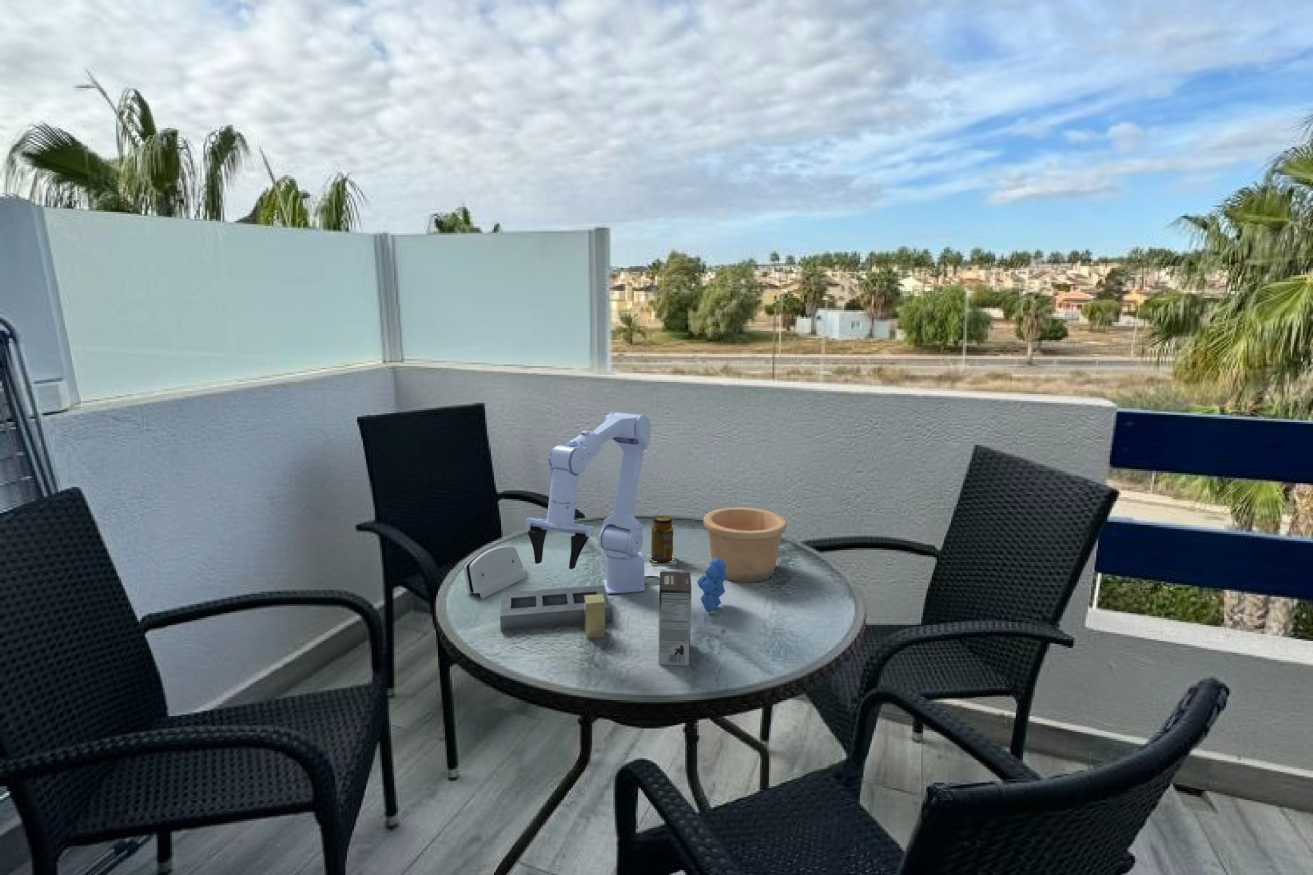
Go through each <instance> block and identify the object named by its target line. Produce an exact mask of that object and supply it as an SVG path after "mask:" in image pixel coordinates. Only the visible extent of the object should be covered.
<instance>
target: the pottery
mask: <svg viewBox="0 0 1313 875" xmlns="http://www.w3.org/2000/svg"><path fill="white" fill-rule="evenodd" d="M702 522H703V526H704V528H705V529H706V530H707V532H708V541H709V550H710V557H711V558H710V559H711V561H712V560H714V559H715V558H719V559H721V560H723V561H724V562H725V564H726V567H727V568H726V569H725V570H724V571H725V573H726V575H727V579H728V581H731V580H733V581H732V582H736V581H738V582H737V583H756V582H755V581H759V580H763V581H765V580H764V579H766V580H768V579H770V578H771V577H773V576H774V574H775V572H774V570H776V565H777V561H778V560H777V559H778V554H779V550H780V549H779V548H780V543H781V538H782V534H785V532H786V529H788V528H787V526H788V522H787V521H786V519H785V517H783V516H782V515H779V514H778V513H776V512H772V511H769V510H766V509H762V508H761V509H760V508H755V507H744V506H743V507H738V506H737V507H736V506H735V507H724V508H719V509H718V508H717V509H714V510H712V511H710V512H707V513H706V514H705V515H704V517H703V521H702ZM773 573H774V574H773ZM772 575H773V576H772ZM770 576H771V577H770ZM769 577H770V578H769ZM767 578H768V579H767ZM727 579H726V580H727ZM759 582H760V581H759Z"/></svg>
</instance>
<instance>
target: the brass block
mask: <svg viewBox="0 0 1313 875" xmlns="http://www.w3.org/2000/svg"><path fill="white" fill-rule="evenodd" d="M584 615H585V624H584V633H585V638H586V639H594V638H595V639H598V638H605V637H606V622H605V601H604V597H603V594H597V595H584Z"/></svg>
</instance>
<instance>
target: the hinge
mask: <svg viewBox="0 0 1313 875" xmlns="http://www.w3.org/2000/svg"><path fill="white" fill-rule="evenodd" d="M463 573H464V579H465V583H466V591H467V594H468V595H471V594H479V595H480V598H481V599H485V598H486V597H488V596H491V595H492V594H495V593H497V592H498V591H501V590H503V589H505V588H507V587H509V586H511V585H513V584H515V583H517V582H519V581H522V580H524V579H526V578H528V577H529V572H528V570H527V568H525V567H524V565H523V563H522V560H521V558H520V555H519V553H518V550H517V549H516V548H515V547H514V546H497V547H494V548H489V549H486V550H485V551H482V552H481V553H479V554H477V555H475V556H473V557H472V558H471V559H470V560H469V561H468V562H467V563H466V564H465V565H464V567H463Z"/></svg>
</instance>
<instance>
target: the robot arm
mask: <svg viewBox="0 0 1313 875" xmlns="http://www.w3.org/2000/svg"><path fill="white" fill-rule="evenodd" d="M651 430H652V424H651V421H650V420H649V417H648V415H647V414H636V413H627V412H625V413H624V412H617V411H612V412H609V414H607V415H606V416H605V419H604V422H602V424H600V425H599V426H598V427H597V428H595V429H594V430H593V431H591V430H582V431H581V432H580V434H579V435H578V436H576V437H574V438H573V439H570V440H569V441H568V442H567V443H566V444H565V445H561V444H558V445H556V446H555V447H554V448H552V449H551V450H550V452H549V456H547V465H548V468H549V475H548V476H549V479H550V480H551V481H550V488H549V497H548V506H547V512H546V513H547V514H546V519H545V518H535V517H527V518H525V520H526V521H525V528H528V529H529V530H527V535H528V537H529V540H530V542H531V544H532V550H533V557H534V563H535V564H536V565H537V564H540V563H542V561H543V556H544V555H543V553H544V545H545V544H544V543H545V541H546V535H547V532H548V531H552V532H559V533H566V534H571V536H570V557H569V563H568V564H569V565H568V569H569V570H574V569H575V568H576V567H577V566H576V565H577V563H578V559H579V557H580V554H581V552H582V551H583V549H584V547H585V545H586V544H587V542H588V540H589V538H591V537H593V536H594V528H595V527H594V526H589V525H585V524H580V523H575V522H574V520H575V514H576V504H577V496H578V489H579V488H578V487H579V479H580V478H579V477H580V474H582V473H584V471H585V469H586V467H587V465H588V464H589V461H590V460H592V459H593V458H594V457H596V456H597V455H598V454H599V453H600V452H601V451H602V448H603V445H604V444H605V443H607V442H609V441H610V440H612V441H613V442H614V443H615V444H616V445H617V446H618V447H620V450H622V458H621V464H620V471H619V477H618V482H617V483H618V484H617V489H616V496H615V501H614V508H613V513H612V514H611V515H610V516H608V517H606V518H605V519H604V520H603V525H602V527H601V530H600V532H599V535H598V544H599V546H600V548H601V549H602V550H603V554H605V555H606V556H605V557H606V564H605V565H606V568H605V569H606V579H603V585H604V587H605V591H606V594H607V595H611V594H624V593H637V592H645V590H646V589H645V557H644V553H643V552H642V551H641V549H642V548H643V542H644V539H643V524H641V522H640V521H639V520H638V519H637V518H636V517H635V513H636V505H637V498H638V492H639V486H640V480H641V472H642V468H643V467H642V466H643V460H644V454H645V450H647V449H648V448H649V443H650V437H651Z"/></svg>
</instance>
